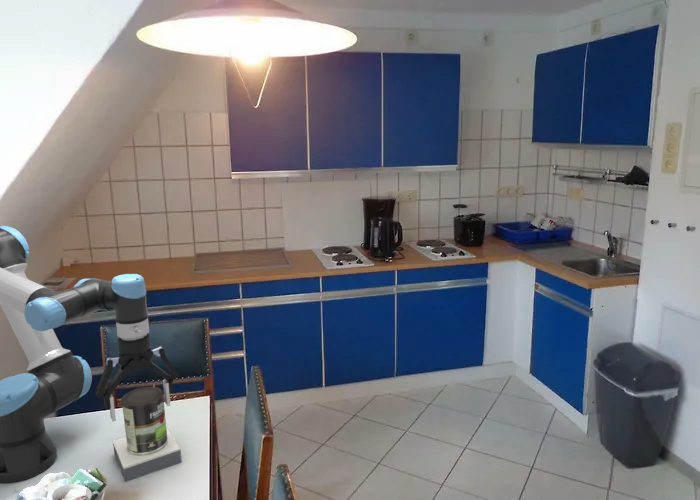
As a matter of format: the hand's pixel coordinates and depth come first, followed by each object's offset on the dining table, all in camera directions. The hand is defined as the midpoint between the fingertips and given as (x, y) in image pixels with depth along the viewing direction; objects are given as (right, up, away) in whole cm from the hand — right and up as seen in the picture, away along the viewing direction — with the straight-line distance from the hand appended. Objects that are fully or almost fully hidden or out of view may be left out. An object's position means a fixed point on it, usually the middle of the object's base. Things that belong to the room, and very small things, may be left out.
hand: (141, 411), depth 137 cm
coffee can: (+1, -10, +2) cm, 10 cm away
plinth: (+1, -13, +3) cm, 14 cm away
